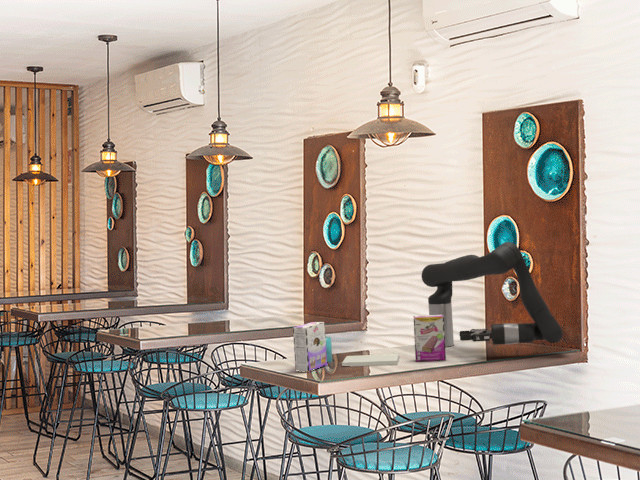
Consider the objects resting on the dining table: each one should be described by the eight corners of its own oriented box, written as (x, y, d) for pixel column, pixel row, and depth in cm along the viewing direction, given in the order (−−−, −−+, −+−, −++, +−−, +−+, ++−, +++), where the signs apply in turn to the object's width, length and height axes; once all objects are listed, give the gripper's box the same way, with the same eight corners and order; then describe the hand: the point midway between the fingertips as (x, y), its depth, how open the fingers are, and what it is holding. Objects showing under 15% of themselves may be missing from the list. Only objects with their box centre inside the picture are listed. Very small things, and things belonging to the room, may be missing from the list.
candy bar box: (415, 362, 301) (413, 317, 301) (415, 359, 306) (412, 315, 306) (446, 360, 300) (443, 315, 300) (445, 358, 305) (443, 314, 305)
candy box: (314, 365, 308) (311, 321, 308) (328, 365, 305) (325, 321, 305) (295, 372, 296) (292, 326, 296) (308, 373, 293) (305, 327, 293)
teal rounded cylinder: (315, 360, 319) (314, 336, 319) (333, 359, 318) (332, 336, 318) (313, 363, 312) (311, 339, 312) (331, 362, 311) (329, 339, 311)
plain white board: (347, 359, 315) (346, 356, 315) (399, 357, 312) (399, 354, 312) (342, 366, 301) (342, 362, 301) (397, 364, 298) (396, 360, 298)
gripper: (507, 347, 292) (460, 349, 294) (504, 341, 306) (460, 342, 308) (505, 326, 291) (459, 328, 294) (503, 321, 306) (458, 322, 308)
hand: (459, 335), depth 301 cm, fingers open, 8 cm apart
